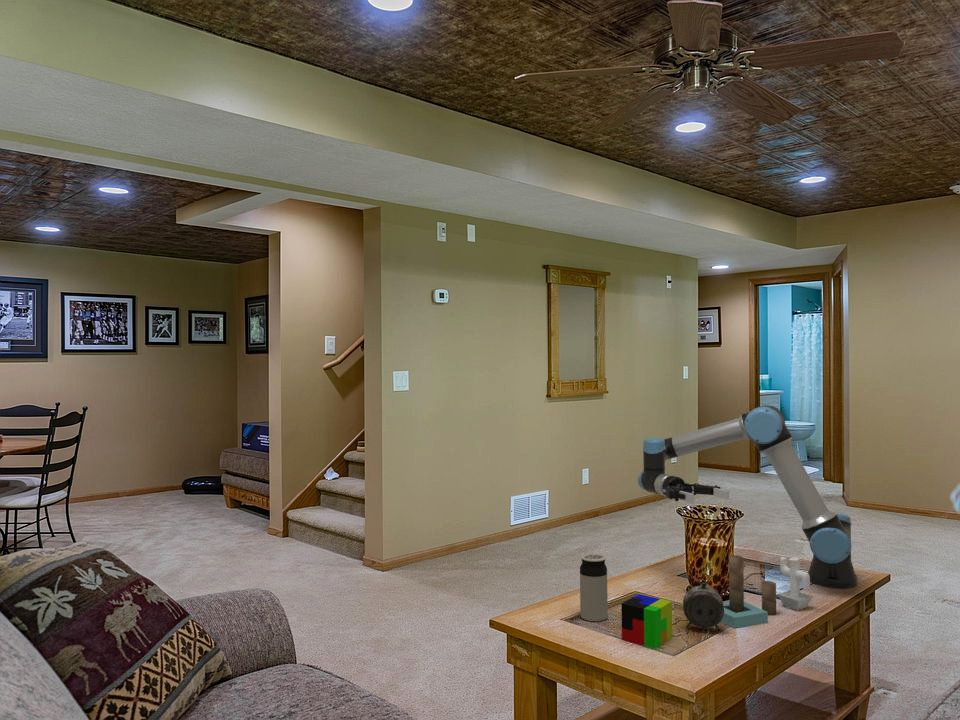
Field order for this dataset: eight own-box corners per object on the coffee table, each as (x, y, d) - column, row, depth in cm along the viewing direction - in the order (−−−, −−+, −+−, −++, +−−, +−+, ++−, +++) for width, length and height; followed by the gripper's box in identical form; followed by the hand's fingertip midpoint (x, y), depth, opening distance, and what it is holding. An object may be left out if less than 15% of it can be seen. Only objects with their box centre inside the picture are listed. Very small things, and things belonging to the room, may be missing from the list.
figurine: (801, 613, 217) (801, 563, 217) (774, 604, 225) (773, 556, 225) (816, 609, 221) (816, 559, 221) (788, 600, 229) (788, 552, 229)
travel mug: (610, 621, 212) (609, 560, 212) (583, 622, 212) (582, 560, 212) (604, 612, 220) (603, 552, 220) (578, 613, 220) (577, 553, 220)
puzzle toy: (638, 629, 206) (638, 594, 206) (672, 637, 200) (671, 601, 200) (621, 640, 199) (621, 603, 199) (655, 649, 192) (655, 611, 192)
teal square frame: (739, 609, 222) (739, 599, 222) (767, 622, 211) (767, 612, 211) (706, 614, 217) (706, 604, 217) (734, 628, 206) (734, 617, 206)
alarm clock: (723, 628, 206) (723, 571, 206) (724, 635, 201) (724, 576, 201) (683, 625, 209) (682, 568, 209) (683, 632, 204) (682, 574, 204)
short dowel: (769, 610, 221) (769, 580, 221) (779, 614, 217) (779, 584, 217) (759, 611, 220) (758, 581, 220) (768, 616, 216) (768, 585, 216)
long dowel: (737, 615, 217) (737, 554, 217) (747, 619, 213) (746, 558, 213) (726, 617, 215) (726, 556, 215) (735, 621, 212) (735, 559, 212)
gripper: (700, 494, 258) (741, 505, 238) (640, 500, 249) (678, 511, 229) (700, 473, 258) (741, 482, 238) (639, 478, 249) (677, 488, 229)
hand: (710, 496), depth 234 cm, fingers open, 13 cm apart
